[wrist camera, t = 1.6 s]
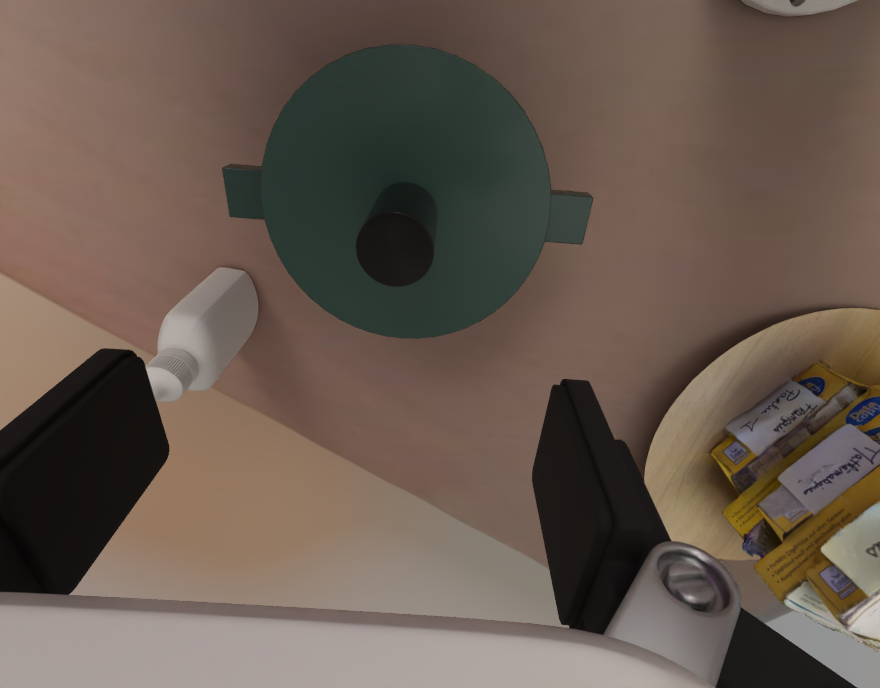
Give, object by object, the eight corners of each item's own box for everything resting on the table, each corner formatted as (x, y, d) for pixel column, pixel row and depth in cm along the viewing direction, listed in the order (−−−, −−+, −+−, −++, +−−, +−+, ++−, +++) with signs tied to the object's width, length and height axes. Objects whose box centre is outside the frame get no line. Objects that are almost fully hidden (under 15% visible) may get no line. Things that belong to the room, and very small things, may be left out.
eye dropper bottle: (193, 310, 35) (87, 412, 25) (225, 255, 33) (123, 342, 23) (245, 342, 37) (165, 451, 26) (280, 291, 34) (207, 388, 24)
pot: (264, 46, 27) (193, 40, 19) (580, 73, 27) (627, 77, 20) (285, 257, 33) (238, 313, 26) (540, 277, 33) (564, 337, 26)
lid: (251, 31, 20) (177, 20, 14) (574, 59, 20) (619, 58, 15) (283, 319, 27) (241, 383, 21) (522, 336, 27) (539, 404, 22)
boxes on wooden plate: (897, 237, 31) (1268, 384, 17) (978, 451, 41) (1263, 662, 26) (578, 419, 40) (647, 618, 26) (705, 561, 49) (809, 766, 35)
